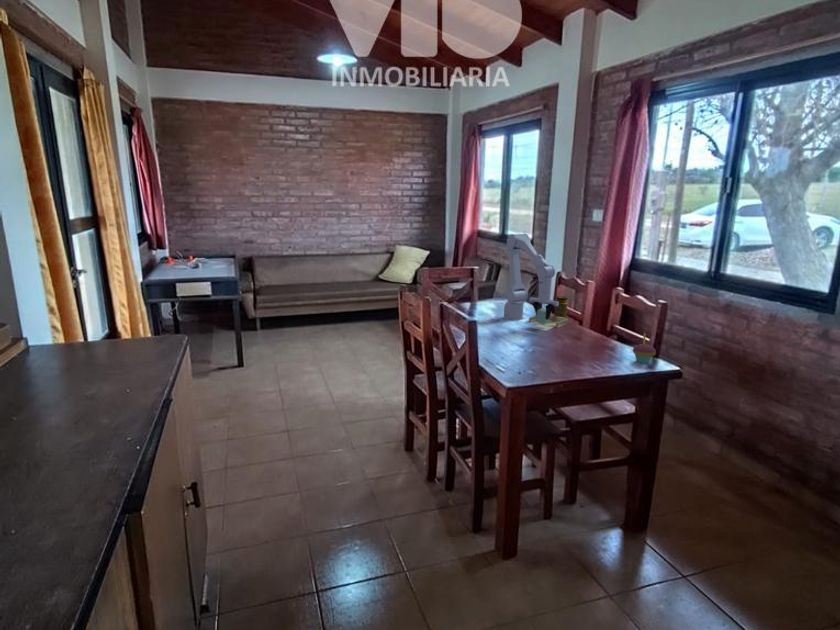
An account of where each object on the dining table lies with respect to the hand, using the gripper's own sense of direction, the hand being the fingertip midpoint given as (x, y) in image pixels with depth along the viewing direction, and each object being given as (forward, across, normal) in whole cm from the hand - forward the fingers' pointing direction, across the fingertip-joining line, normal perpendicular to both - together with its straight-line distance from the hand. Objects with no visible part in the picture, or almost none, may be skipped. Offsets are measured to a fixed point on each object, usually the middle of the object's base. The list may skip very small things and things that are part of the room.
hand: (542, 318), depth 251 cm
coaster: (+5, 0, 0) cm, 5 cm away
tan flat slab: (+5, +2, -11) cm, 12 cm away
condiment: (+6, +2, -22) cm, 23 cm away
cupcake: (+6, -53, +16) cm, 56 cm away
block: (+2, 0, 0) cm, 2 cm away
